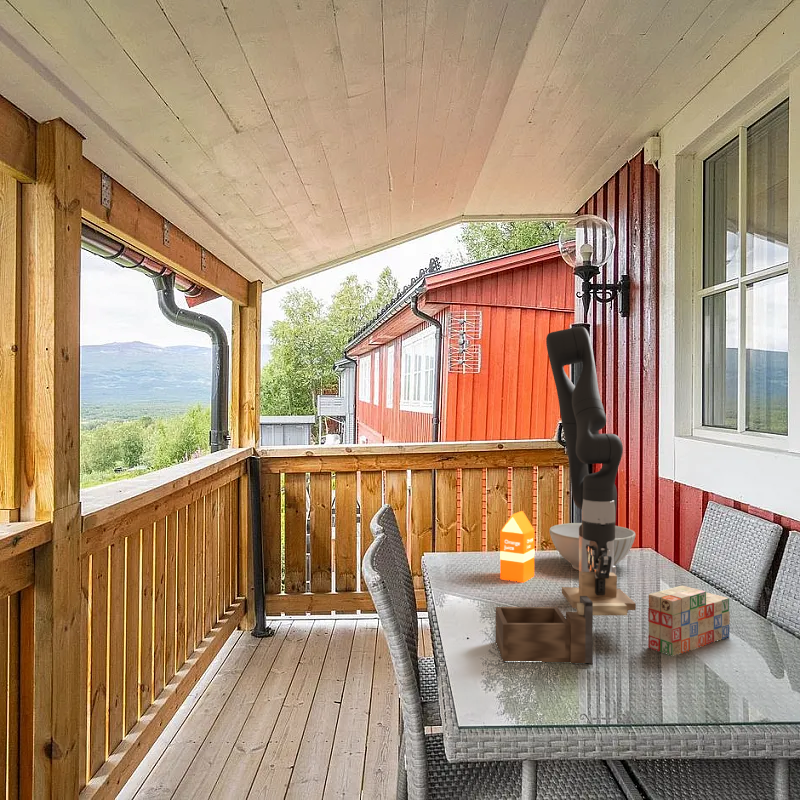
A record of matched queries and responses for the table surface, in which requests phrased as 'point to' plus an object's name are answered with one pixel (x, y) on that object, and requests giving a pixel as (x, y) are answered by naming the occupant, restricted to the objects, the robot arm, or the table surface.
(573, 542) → the decorative bowl
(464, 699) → the table surface
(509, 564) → the orange juice
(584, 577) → the lid
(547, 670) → the table surface
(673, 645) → the stack of blocks
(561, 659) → the brown wooden box
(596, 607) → the light wooden plank
